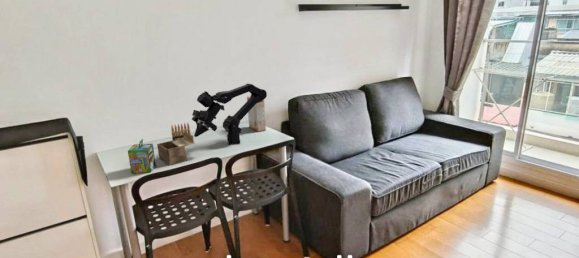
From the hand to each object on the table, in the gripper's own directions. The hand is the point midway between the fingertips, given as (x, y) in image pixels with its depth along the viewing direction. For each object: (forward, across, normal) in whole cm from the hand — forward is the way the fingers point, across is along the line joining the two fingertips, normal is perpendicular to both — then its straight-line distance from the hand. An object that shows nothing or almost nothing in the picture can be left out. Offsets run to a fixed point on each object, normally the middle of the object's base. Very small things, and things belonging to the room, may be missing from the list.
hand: (194, 136), depth 181 cm
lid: (+6, 0, -3) cm, 7 cm away
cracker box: (-28, -13, +41) cm, 51 cm away
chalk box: (+27, +2, -13) cm, 30 cm away
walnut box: (+16, 0, -3) cm, 16 cm away
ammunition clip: (+6, -21, +8) cm, 23 cm away
